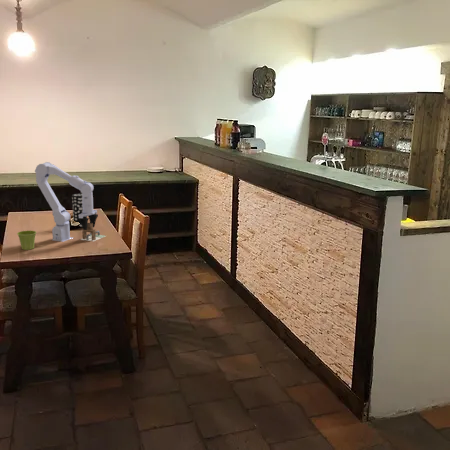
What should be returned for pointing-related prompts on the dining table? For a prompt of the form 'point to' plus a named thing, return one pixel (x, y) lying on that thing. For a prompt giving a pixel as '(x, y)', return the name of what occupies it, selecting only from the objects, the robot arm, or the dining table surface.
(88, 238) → the buzz wire board
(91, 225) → the stepped wooden block
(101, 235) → the end pad
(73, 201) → the white-spotted black cylinder
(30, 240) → the plant pot
